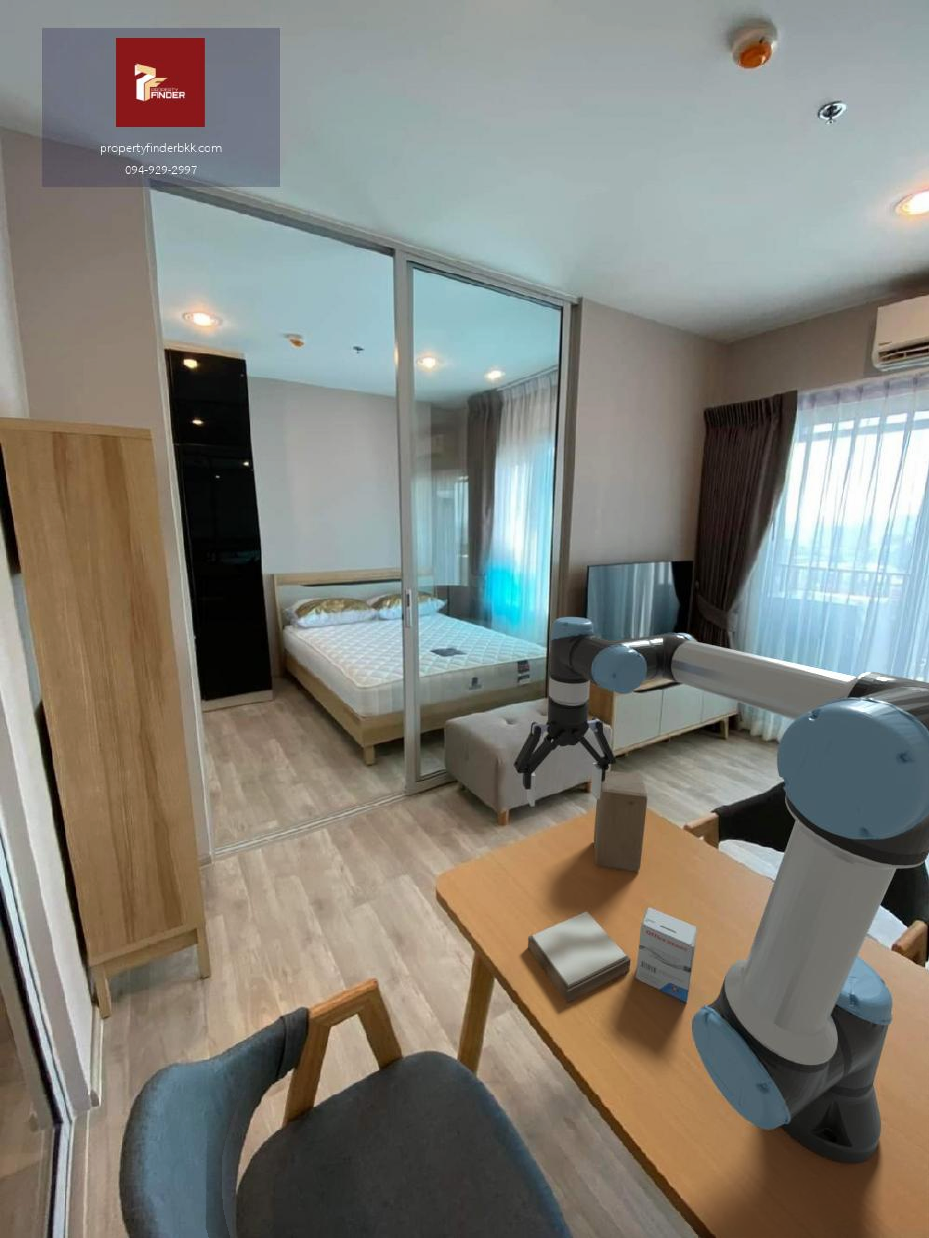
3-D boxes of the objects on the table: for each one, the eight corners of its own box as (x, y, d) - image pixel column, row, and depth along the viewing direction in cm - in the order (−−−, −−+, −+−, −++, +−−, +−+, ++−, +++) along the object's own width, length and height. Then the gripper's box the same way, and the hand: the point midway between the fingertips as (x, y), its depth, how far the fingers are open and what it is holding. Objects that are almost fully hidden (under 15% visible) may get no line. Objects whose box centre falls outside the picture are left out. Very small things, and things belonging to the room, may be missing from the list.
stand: (629, 970, 89) (630, 956, 89) (567, 1003, 83) (568, 988, 83) (586, 921, 100) (586, 908, 99) (527, 947, 94) (528, 934, 93)
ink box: (691, 981, 87) (698, 926, 85) (686, 1004, 83) (694, 946, 81) (641, 958, 92) (647, 904, 89) (634, 978, 88) (640, 923, 85)
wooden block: (640, 874, 113) (648, 796, 108) (595, 867, 115) (601, 790, 110) (634, 845, 122) (642, 772, 118) (593, 839, 124) (598, 768, 120)
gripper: (619, 687, 100) (612, 783, 104) (500, 695, 95) (497, 794, 99) (639, 701, 92) (630, 803, 97) (510, 710, 88) (507, 816, 92)
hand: (563, 799), depth 98 cm, fingers open, 13 cm apart
